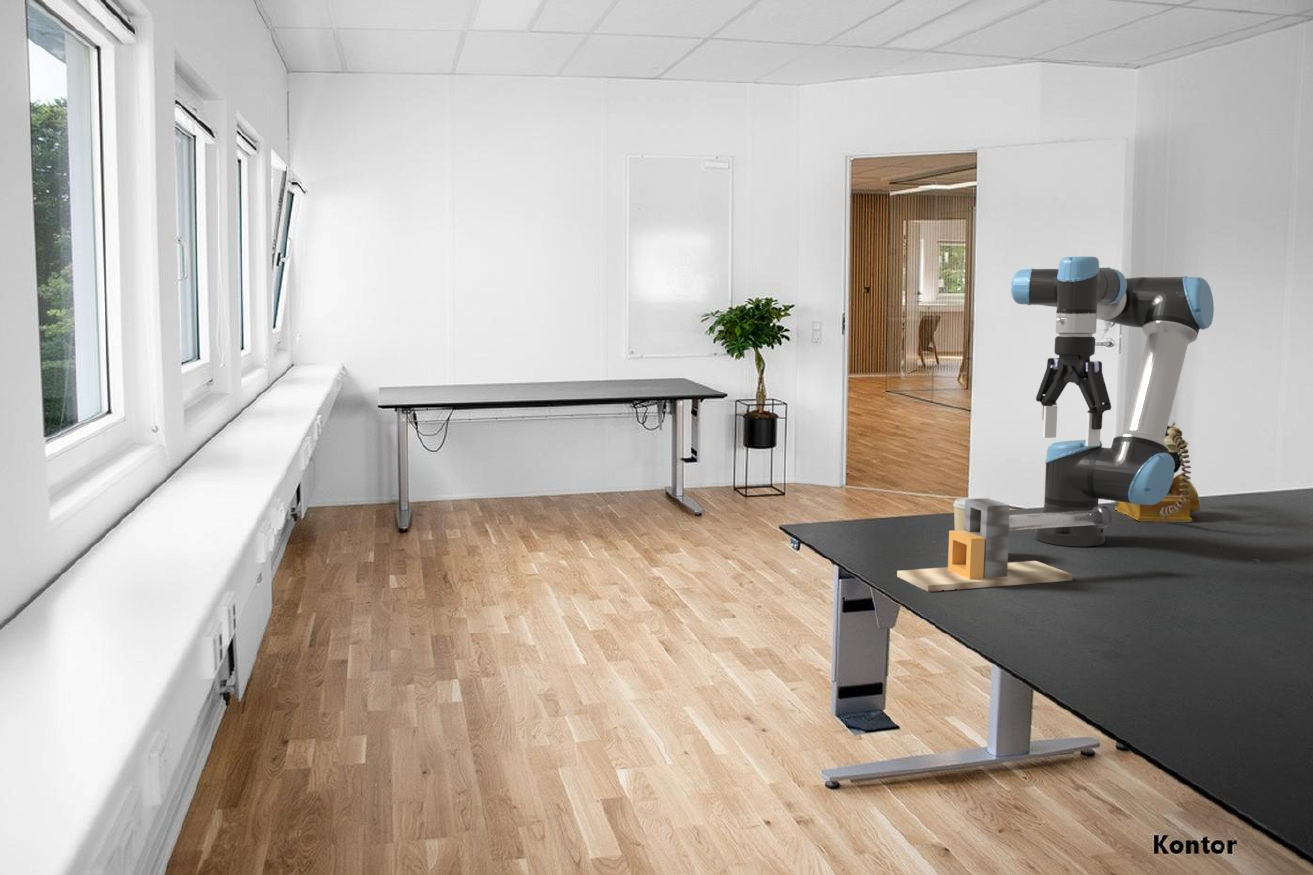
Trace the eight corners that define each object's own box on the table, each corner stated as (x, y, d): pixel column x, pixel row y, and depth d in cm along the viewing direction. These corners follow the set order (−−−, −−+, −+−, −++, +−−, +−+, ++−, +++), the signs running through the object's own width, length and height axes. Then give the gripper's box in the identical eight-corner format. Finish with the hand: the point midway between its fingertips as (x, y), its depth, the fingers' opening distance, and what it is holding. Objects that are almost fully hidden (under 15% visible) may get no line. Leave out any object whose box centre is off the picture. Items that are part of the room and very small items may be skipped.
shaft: (1096, 525, 230) (1097, 504, 229) (1110, 529, 225) (1112, 508, 225) (979, 532, 222) (980, 511, 221) (991, 537, 218) (992, 515, 217)
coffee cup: (998, 561, 235) (1000, 505, 234) (952, 559, 237) (955, 504, 235) (994, 552, 244) (996, 498, 243) (950, 550, 246) (952, 496, 245)
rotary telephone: (1236, 534, 263) (1244, 430, 260) (1160, 534, 264) (1166, 429, 261) (1174, 507, 298) (1180, 414, 295) (1107, 506, 299) (1112, 414, 296)
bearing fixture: (1035, 566, 231) (1038, 493, 229) (1072, 580, 220) (1076, 503, 218) (897, 576, 222) (899, 500, 220) (927, 591, 211) (930, 511, 209)
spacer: (961, 568, 224) (962, 529, 223) (983, 578, 216) (984, 538, 215) (947, 569, 223) (949, 530, 222) (969, 579, 215) (971, 538, 214)
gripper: (1021, 333, 231) (1017, 434, 234) (1101, 337, 207) (1095, 450, 210) (1052, 333, 233) (1047, 433, 236) (1134, 337, 209) (1128, 448, 212)
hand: (1070, 441), depth 223 cm, fingers open, 13 cm apart
